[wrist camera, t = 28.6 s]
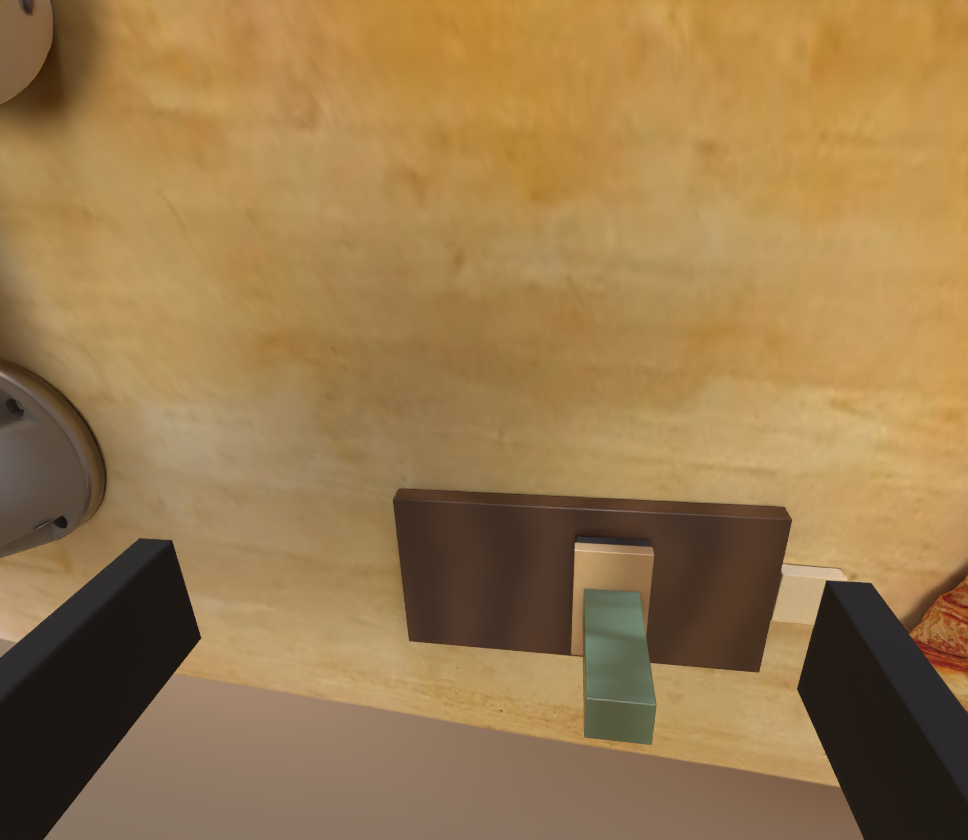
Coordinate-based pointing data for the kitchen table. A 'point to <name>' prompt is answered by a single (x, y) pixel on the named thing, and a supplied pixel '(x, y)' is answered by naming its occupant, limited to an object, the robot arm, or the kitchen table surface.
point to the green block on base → (614, 637)
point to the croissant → (947, 639)
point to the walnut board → (550, 571)
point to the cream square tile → (801, 592)
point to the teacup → (23, 43)
